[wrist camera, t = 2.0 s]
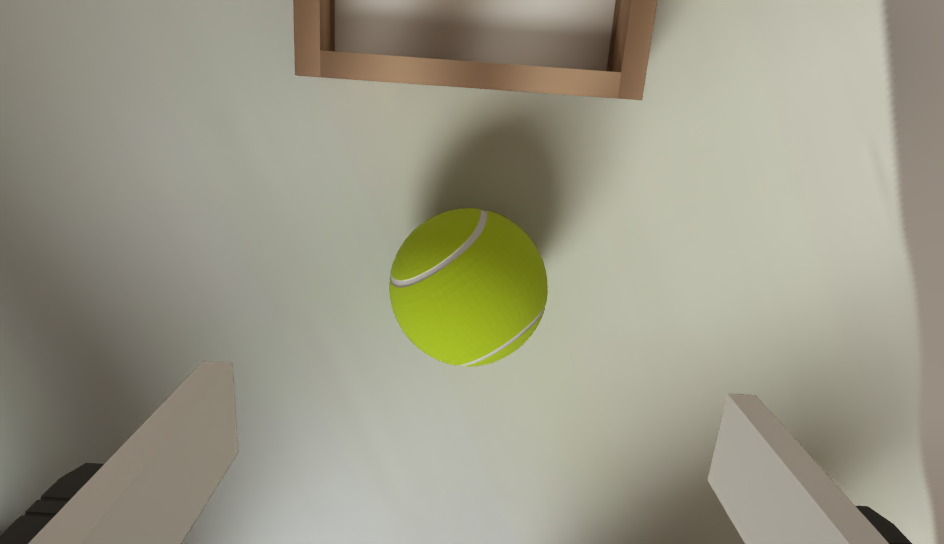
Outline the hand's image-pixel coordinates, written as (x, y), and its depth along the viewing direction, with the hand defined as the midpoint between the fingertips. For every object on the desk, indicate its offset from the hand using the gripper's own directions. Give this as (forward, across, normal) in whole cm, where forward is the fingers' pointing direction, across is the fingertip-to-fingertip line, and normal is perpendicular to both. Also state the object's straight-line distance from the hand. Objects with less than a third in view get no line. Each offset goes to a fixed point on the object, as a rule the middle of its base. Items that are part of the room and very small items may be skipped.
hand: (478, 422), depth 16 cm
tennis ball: (+15, 0, 0) cm, 15 cm away
